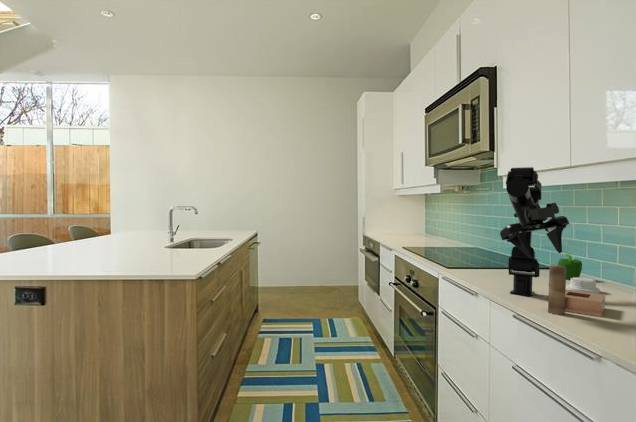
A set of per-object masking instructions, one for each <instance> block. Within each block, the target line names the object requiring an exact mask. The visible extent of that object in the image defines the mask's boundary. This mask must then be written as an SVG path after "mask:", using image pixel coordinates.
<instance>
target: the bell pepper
mask: <svg viewBox="0 0 636 422" xmlns="http://www.w3.org/2000/svg"><path fill="white" fill-rule="evenodd" d="M564 255H565V257H567V258H560V259H559V260H558V262H557V263H558V264H557V266H565V267H566V280H571V278H573V277H574V278H575V277H576V278H581V273H582V271H583V263H582V260H580V259H576V258H575V259H572V256H571V254H570V253H565V254H564Z"/></svg>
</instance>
